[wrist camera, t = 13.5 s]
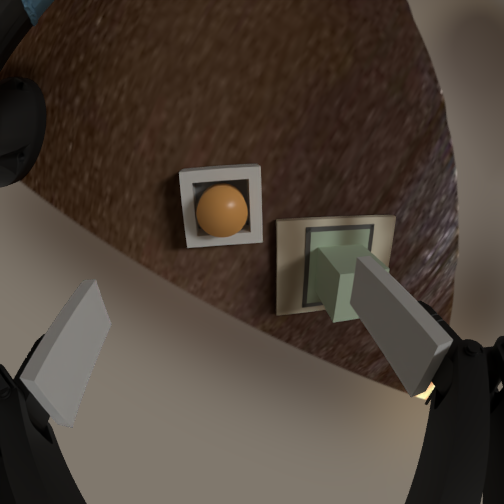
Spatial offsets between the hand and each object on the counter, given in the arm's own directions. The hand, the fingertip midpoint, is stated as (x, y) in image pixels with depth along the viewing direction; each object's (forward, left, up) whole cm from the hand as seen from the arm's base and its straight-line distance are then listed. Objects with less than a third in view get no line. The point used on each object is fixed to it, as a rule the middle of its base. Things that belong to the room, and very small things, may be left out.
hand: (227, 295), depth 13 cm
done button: (0, 0, -17) cm, 17 cm away
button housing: (0, 0, -19) cm, 19 cm away
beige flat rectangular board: (+14, -9, -19) cm, 25 cm away
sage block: (+14, -9, -18) cm, 25 cm away
